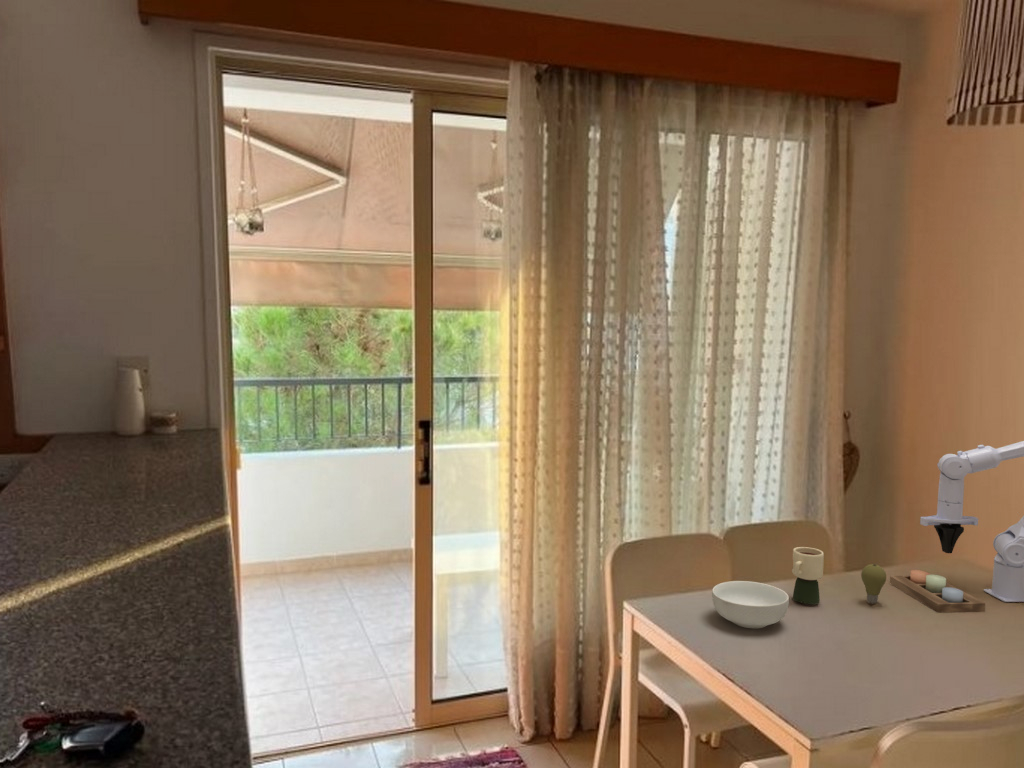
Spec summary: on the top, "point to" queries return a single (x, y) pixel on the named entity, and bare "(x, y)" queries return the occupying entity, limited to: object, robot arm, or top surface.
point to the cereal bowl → (750, 603)
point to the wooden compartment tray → (936, 597)
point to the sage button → (935, 583)
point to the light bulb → (873, 581)
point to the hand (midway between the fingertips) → (947, 552)
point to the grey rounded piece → (952, 595)
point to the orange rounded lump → (918, 576)
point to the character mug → (807, 574)
